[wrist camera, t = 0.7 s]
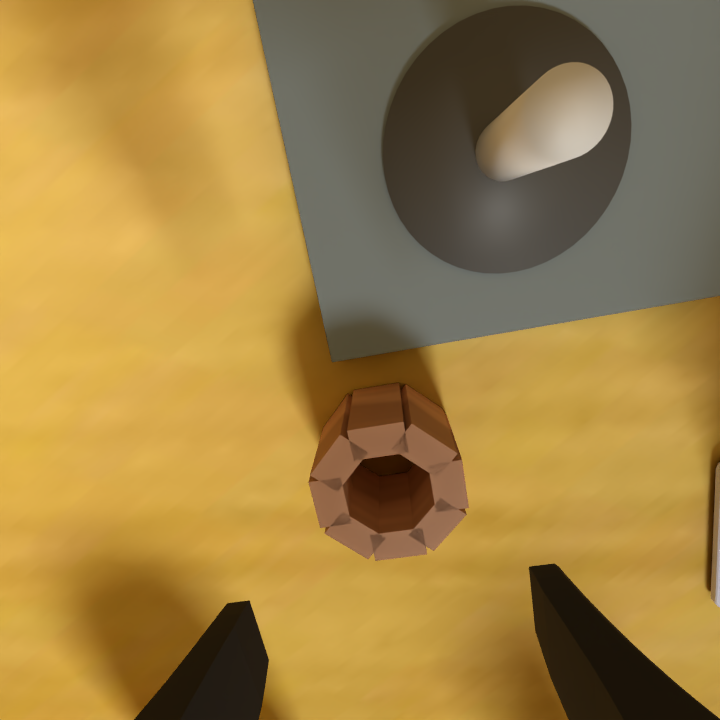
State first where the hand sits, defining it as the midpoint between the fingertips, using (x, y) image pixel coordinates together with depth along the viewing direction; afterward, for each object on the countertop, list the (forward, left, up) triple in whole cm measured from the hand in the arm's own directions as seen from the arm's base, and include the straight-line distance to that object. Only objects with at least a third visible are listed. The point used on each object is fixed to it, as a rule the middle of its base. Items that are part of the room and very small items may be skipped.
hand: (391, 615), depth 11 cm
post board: (-6, -11, -9) cm, 16 cm away
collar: (0, 0, -9) cm, 9 cm away
